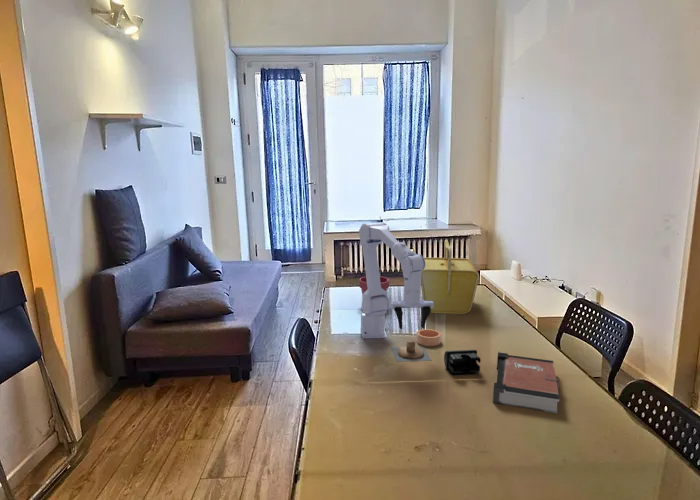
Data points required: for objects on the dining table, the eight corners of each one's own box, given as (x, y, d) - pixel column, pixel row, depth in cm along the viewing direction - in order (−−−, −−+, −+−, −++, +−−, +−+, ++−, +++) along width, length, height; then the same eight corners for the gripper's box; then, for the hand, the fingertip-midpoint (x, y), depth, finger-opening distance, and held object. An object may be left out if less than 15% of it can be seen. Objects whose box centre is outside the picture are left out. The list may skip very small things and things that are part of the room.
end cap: (472, 365, 152) (473, 346, 151) (481, 375, 145) (482, 355, 144) (443, 367, 151) (444, 348, 149) (450, 377, 144) (451, 356, 142)
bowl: (419, 347, 167) (419, 338, 167) (414, 338, 176) (414, 329, 175) (443, 346, 168) (443, 337, 167) (437, 337, 177) (437, 328, 176)
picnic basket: (418, 296, 233) (419, 238, 228) (469, 297, 230) (472, 239, 224) (418, 314, 205) (420, 248, 199) (477, 316, 201) (481, 249, 196)
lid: (400, 359, 156) (400, 346, 155) (395, 348, 165) (396, 337, 164) (426, 358, 156) (426, 346, 156) (420, 348, 165) (420, 336, 164)
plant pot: (389, 309, 211) (390, 282, 209) (359, 309, 211) (359, 282, 209) (387, 300, 225) (388, 275, 223) (359, 300, 225) (359, 275, 223)
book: (560, 415, 122) (562, 398, 121) (492, 404, 128) (493, 387, 127) (554, 374, 146) (555, 359, 145) (497, 366, 152) (498, 352, 151)
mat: (396, 362, 154) (396, 361, 154) (391, 348, 166) (391, 347, 166) (431, 361, 155) (431, 360, 155) (423, 347, 167) (423, 346, 167)
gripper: (393, 293, 152) (392, 332, 154) (436, 292, 153) (435, 331, 155) (390, 288, 159) (389, 325, 161) (431, 287, 160) (429, 324, 162)
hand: (411, 327), depth 159 cm, fingers open, 7 cm apart
